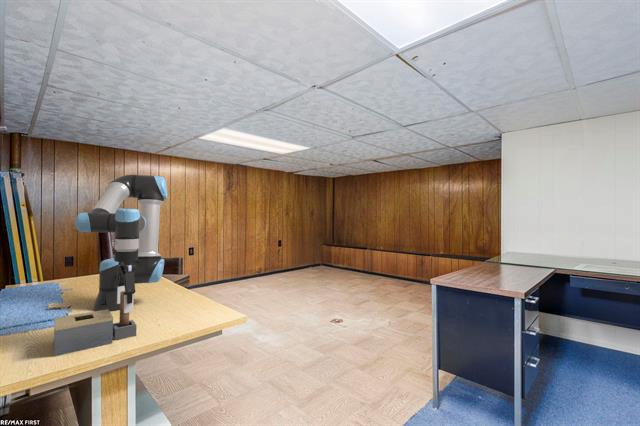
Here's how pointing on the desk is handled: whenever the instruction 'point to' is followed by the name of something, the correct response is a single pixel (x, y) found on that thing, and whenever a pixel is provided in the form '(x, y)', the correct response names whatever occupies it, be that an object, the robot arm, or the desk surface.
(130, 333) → the holder
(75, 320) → the hollow box
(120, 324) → the brown rounded rod
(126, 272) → the robot arm
